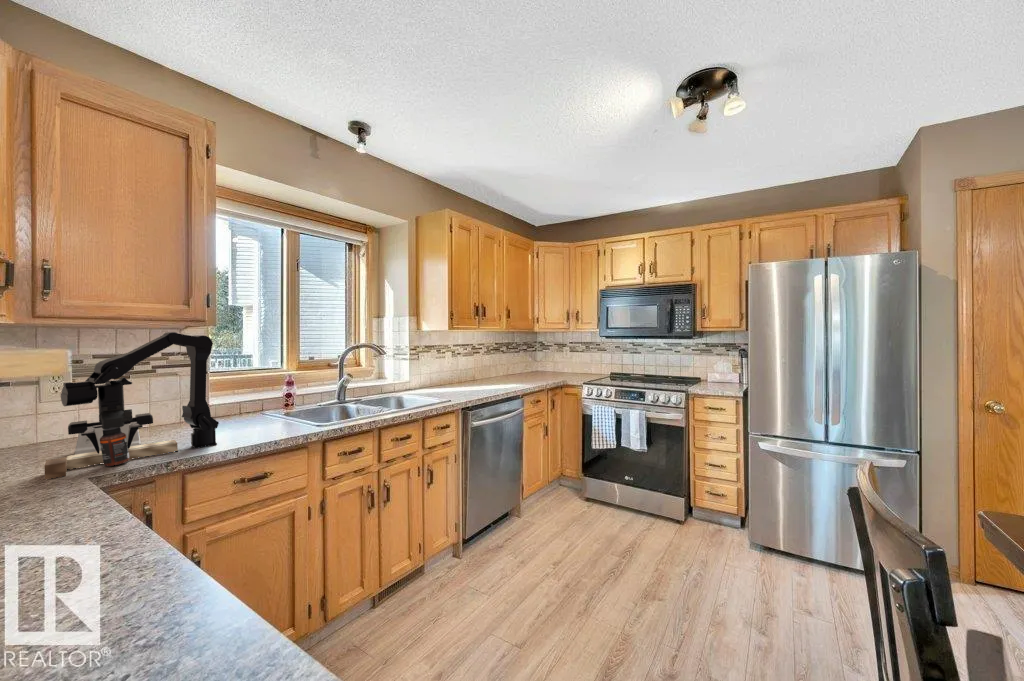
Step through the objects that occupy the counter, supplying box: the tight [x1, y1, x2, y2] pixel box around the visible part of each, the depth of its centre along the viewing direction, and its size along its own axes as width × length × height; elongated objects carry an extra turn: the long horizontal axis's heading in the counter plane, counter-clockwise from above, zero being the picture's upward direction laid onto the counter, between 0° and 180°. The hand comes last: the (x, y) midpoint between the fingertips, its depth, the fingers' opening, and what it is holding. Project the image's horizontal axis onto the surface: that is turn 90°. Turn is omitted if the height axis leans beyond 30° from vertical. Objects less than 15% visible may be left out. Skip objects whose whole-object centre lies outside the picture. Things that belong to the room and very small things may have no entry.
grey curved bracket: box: [74, 424, 142, 455], centre depth 146 cm, size 17×5×10 cm, turn 129°
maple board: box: [66, 439, 178, 470], centre depth 136 cm, size 26×6×3 cm, turn 135°
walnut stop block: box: [43, 456, 68, 480], centre depth 120 cm, size 4×7×4 cm, turn 45°
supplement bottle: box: [100, 427, 131, 467], centre depth 129 cm, size 6×6×11 cm
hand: (113, 450), depth 129 cm, fingers open, 6 cm apart
